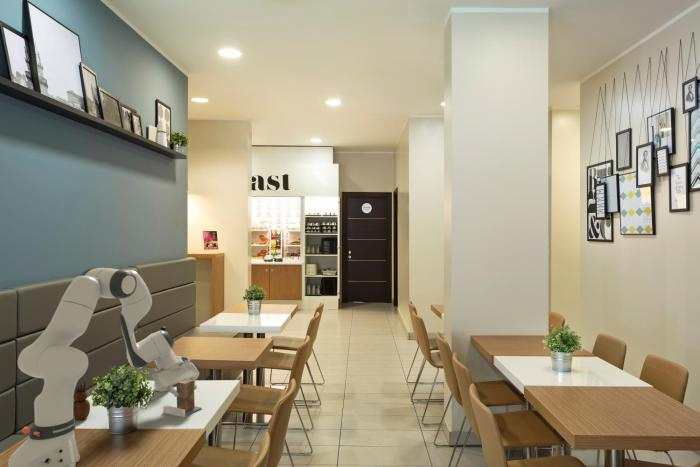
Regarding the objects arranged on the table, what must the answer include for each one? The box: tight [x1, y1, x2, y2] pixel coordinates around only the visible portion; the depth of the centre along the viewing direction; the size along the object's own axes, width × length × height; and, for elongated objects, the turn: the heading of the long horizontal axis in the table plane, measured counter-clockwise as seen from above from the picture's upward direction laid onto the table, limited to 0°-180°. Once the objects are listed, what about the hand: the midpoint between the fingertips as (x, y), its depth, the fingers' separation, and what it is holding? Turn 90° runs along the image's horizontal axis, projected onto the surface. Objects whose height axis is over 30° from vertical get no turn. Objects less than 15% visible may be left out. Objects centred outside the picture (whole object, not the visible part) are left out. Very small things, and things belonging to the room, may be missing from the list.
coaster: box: [185, 405, 202, 417], centre depth 213 cm, size 9×9×1 cm
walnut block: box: [176, 379, 196, 412], centre depth 213 cm, size 5×5×12 cm
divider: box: [162, 404, 186, 419], centre depth 209 cm, size 1×12×3 cm, turn 61°
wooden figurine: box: [73, 381, 91, 421], centre depth 206 cm, size 7×6×15 cm
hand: (186, 392), depth 213 cm, fingers open, 8 cm apart
